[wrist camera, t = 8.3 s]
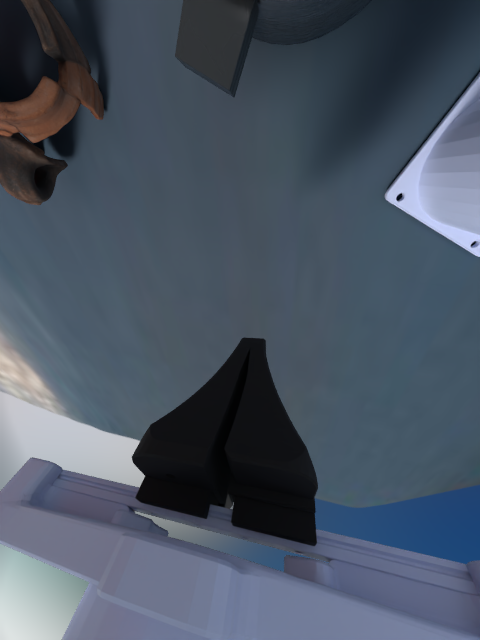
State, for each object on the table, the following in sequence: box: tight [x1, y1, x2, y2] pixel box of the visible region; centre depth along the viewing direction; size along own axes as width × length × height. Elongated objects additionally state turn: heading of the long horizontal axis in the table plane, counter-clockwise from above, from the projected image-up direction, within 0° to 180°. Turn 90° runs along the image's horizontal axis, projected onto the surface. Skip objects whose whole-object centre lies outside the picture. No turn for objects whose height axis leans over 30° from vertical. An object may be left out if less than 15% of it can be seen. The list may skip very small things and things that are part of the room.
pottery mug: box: [0, 0, 104, 205], centre depth 14 cm, size 12×10×8 cm
